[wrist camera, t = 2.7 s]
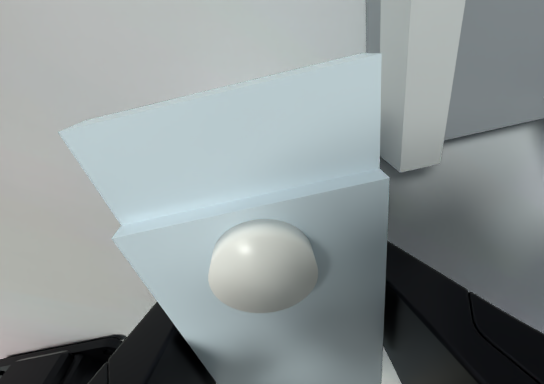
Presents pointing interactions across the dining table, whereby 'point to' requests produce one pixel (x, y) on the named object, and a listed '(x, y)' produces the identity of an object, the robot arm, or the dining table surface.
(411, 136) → the mounting plate
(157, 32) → the dining table surface
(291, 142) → the light blue knobbed block
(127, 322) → the dining table surface
